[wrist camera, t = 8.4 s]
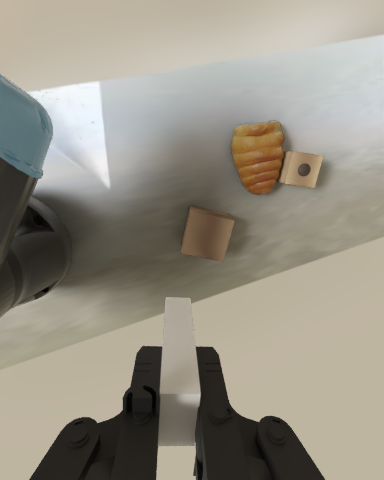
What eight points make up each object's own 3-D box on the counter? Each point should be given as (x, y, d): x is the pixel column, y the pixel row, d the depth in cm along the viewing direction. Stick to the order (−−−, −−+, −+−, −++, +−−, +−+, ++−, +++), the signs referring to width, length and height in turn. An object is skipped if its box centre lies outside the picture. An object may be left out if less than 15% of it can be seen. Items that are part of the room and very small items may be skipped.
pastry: (280, 188, 37) (292, 192, 34) (234, 197, 37) (241, 201, 33) (276, 118, 34) (289, 113, 30) (226, 127, 34) (233, 124, 30)
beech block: (274, 180, 37) (285, 183, 33) (281, 151, 36) (293, 151, 32) (301, 184, 37) (314, 188, 33) (308, 156, 36) (323, 156, 32)
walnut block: (181, 243, 40) (181, 253, 35) (189, 205, 38) (190, 211, 33) (219, 250, 40) (223, 261, 36) (229, 213, 38) (234, 220, 34)
